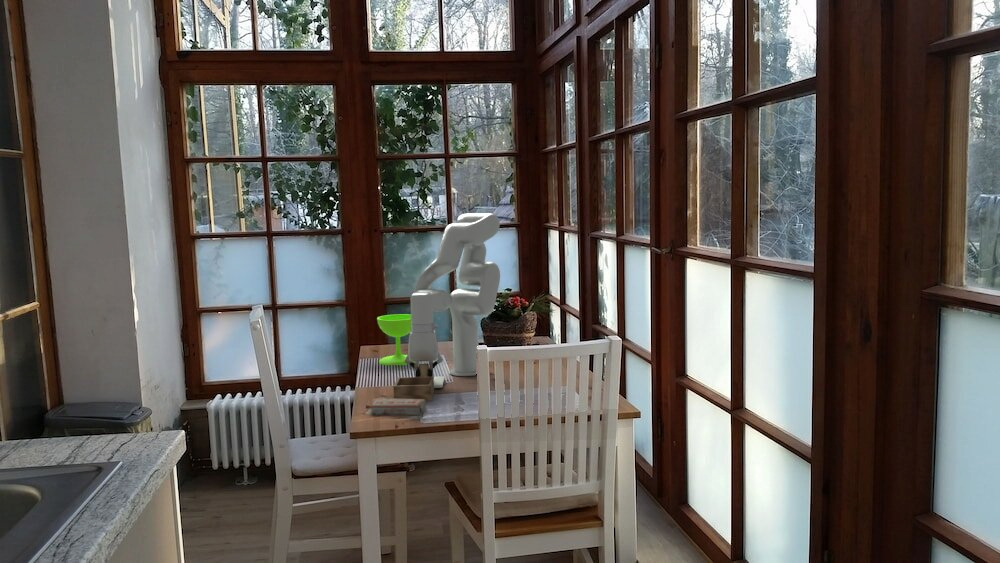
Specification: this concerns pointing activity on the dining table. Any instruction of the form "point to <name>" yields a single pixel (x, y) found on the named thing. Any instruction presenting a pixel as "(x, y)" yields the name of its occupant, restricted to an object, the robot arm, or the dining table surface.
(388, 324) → the wineglass
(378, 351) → the dining table surface
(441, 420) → the dining table surface
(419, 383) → the walnut box
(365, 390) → the dining table surface
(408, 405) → the packaged product
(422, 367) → the lid
